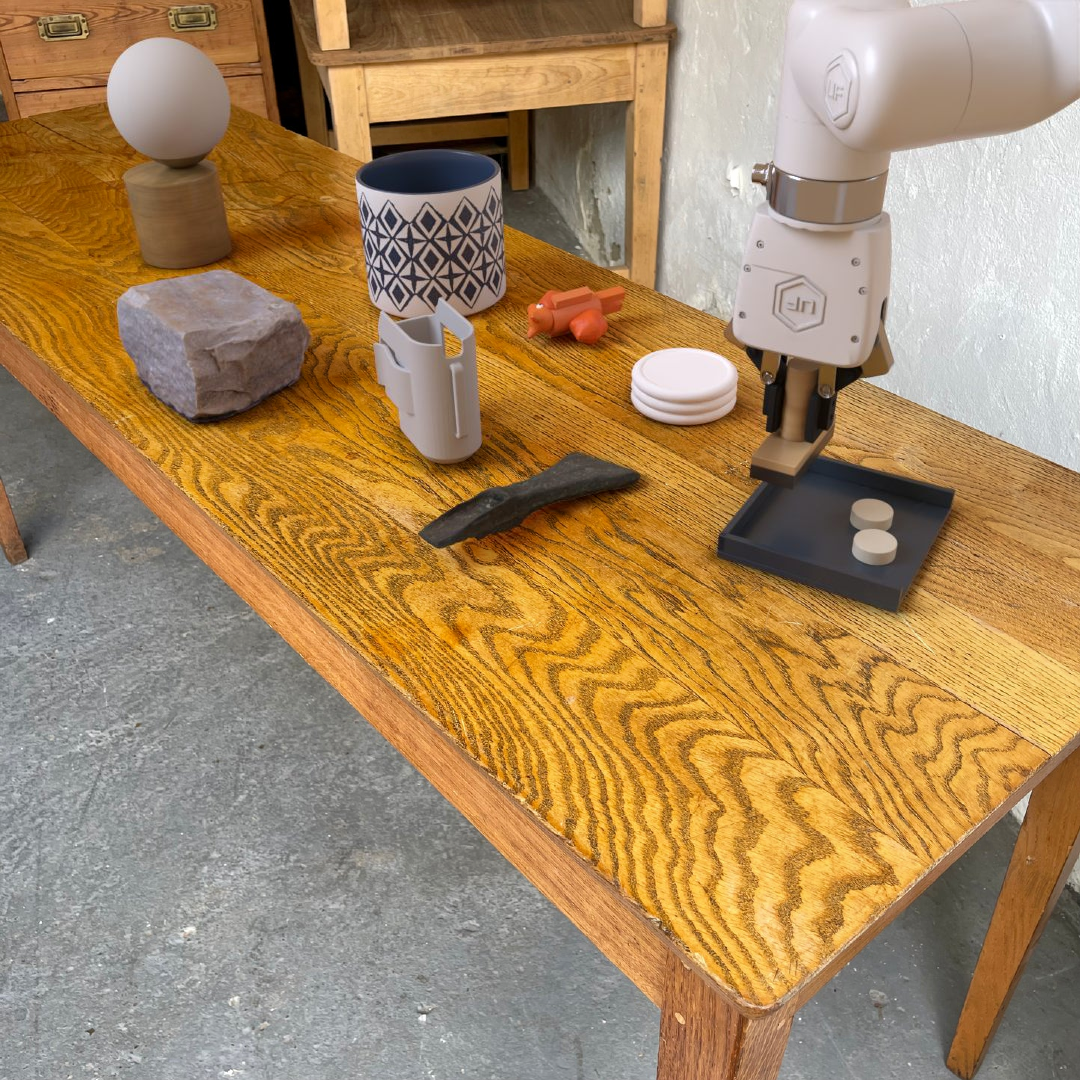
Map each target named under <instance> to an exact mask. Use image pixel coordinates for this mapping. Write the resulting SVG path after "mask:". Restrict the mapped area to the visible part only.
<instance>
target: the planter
mask: <svg viewBox="0 0 1080 1080" xmlns="http://www.w3.org/2000/svg"><path fill="white" fill-rule="evenodd" d="M354 179H355V187H356V188H355V189H356V196H357V197H356V198H357V206H358V215H359V223H360V231H361V239H362V247H363V256H364V261H365V262H364V264H365V271H366V279H367V286H368V293H369V299H370V301H371V302H372V304H373V306H375V307H376V308H378V310H380V311H384V312H385V313H386V314H389V315H391V316H394V317H398V318H401V319H405V320H406V319H410V318H414V317H419V316H423V315H433V314H435V312H436V308H437V304H438V300H439V298H443V299H444V300H445V301H446V302H447V303H448V304H449V305H451V306H452V307H453V308H454V309H455V310H456V311H457V312H459V313H460V314H461V315H462V316H463V317H464V318H465V317H467V316H468V317H469V316H471V315H475V314H477V313H480V312H483V311H485V310H486V309H489V308H490V307H492V306H494V305H495V304H497V303H498V302H499V301H500V300H501V299H502V298H503V296H504V295H505V293H506V291H507V272H506V271H507V270H506V249H505V231H504V229H505V228H504V207H503V206H504V205H503V189H502V186H503V185H502V173H501V167H500V164H499V163H498V162H497V161H496V160H495V159H493V158H492V157H489V156H487V155H485V154H482V153H478V152H473V151H467V150H461V149H460V150H459V149H441V148H440V149H439V148H438V149H419V150H411V151H404V152H397V153H394V154H393V153H392V154H389V155H385V156H381V157H378V158H376V159H373V160H371V161H369V162H366V163H365V164H363V165H362V166H360V167H359V168H358V170H357V171H356V173H355V175H354Z"/></svg>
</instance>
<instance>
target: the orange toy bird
mask: <svg viewBox="0 0 1080 1080" xmlns="http://www.w3.org/2000/svg"><path fill="white" fill-rule="evenodd" d="M626 295H627V291H626V290H625V289H624V287H623V286H622V285H618V286H615V287H610V288H607V289H603V290H600V291H593V290H591V289H590V287H589V286H588V285H586V286H581V287H578V288H575V289H570V290H566V291H561V290H555V289H550V290H548V291H547V292H546V293H545V294H544V295H543V296H542V297H541V298H540V299H539V301H538V302H537V303H531V304H528V306H527V309H526V311H527V323H528V325H529V326H528V331H527V333H526V338H527V339H529V340H531V339H532V338H534V337H536V336H538V335H539V334H544V333H545V334H546V335H547V336H548V337H549V338H550V339H552V338H556V337H560V336H564V335H567V334H570V333H572V334H573V336H574V337H575V339H576V340H577V342H580V343H584V344H588V345H593V344H595V343H597V342H598V341H599V339H600V338H601V337H602V336H604V335H605V334H606V333H607V331H608V329H609V325H608V322H607V319H606V317H605V316H608V315H610V314H614V313H618V312H621V311H622V309H623V305H624V303H623V302H622V300H625V298H626Z"/></svg>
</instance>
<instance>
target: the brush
mask: <svg viewBox="0 0 1080 1080" xmlns="http://www.w3.org/2000/svg"><path fill="white" fill-rule="evenodd" d="M819 371H820V363H816V362H811V361H807V360H803V359H798V358H794V357H791V358H789V361H788V365H787V373H786V381H785V390H784V398H783V407H782V415H781V423H780V428H779V429H778V430H777V431H776V432H773V433H770V432H769V434H768V435H767V436H766V438H765V439H764V440H763V441H762V443H760V445H759V446H758V447H757V448H756V450H755V451H754V452H753V453H752V454H751V457H750V458H751V459H750V467H749V474H748V475H749V477H748V478H750V479H753V480H757V481H761V482H762V481H763V482H767V483H771V484H774V485H778V486H781V487H785V488H788V489H792V490H793V489H794V487H795V486H796V485H797V483H798V482H799V481H800V479H801V478H802V477H803V475H804V474H805V473H806V471H807V470H808V469H809V467H810V466H811V465H812V464H813V462H814V461H815V460H816V458H817V457H818V456H819V455H821V454H822V452H823V450H824V449H825V448H826V447H827V445H828V443H829V442H830V441H831V440H832V438H833V437H834V434H835V427H836V421H837V414H836V413H835V414H834V420H833V423H832V426H831V428H830V429H829V430H828V431H825V430H823V432H822V433H821V434H820V436H819V437H818V438H817V439H816V441H815V442H814V443H813V444H812V443H808V442H806V440H804V435H805V427H806V420H807V412H808V405H809V399H810V396H811V395H812V393H813V392H814V391H815V390H816V386H817V384H818V382H819Z"/></svg>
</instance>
